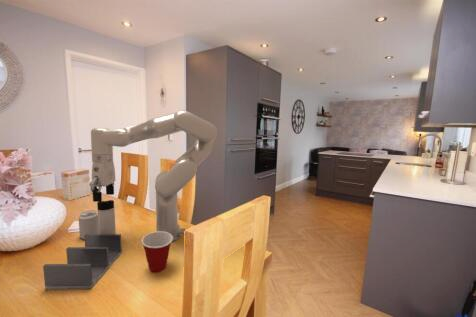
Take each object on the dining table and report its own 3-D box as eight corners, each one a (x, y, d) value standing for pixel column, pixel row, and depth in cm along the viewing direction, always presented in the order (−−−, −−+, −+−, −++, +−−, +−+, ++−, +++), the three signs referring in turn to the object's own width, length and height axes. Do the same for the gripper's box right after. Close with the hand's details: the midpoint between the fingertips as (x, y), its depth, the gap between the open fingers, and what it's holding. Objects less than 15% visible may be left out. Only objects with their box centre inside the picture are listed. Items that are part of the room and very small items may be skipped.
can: (89, 241, 100) (87, 216, 98) (75, 239, 101) (73, 214, 100) (102, 233, 107) (101, 210, 105) (89, 232, 108) (88, 208, 107)
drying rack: (121, 252, 92) (121, 234, 91) (90, 288, 71) (89, 265, 70) (87, 252, 91) (85, 234, 90) (45, 289, 70) (43, 266, 69)
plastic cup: (155, 282, 75) (154, 248, 73) (135, 270, 80) (134, 239, 79) (179, 265, 84) (179, 235, 82) (160, 256, 90) (159, 228, 88)
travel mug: (99, 249, 93) (96, 203, 91) (100, 242, 99) (97, 199, 96) (115, 246, 96) (113, 201, 94) (116, 239, 102) (114, 197, 99)
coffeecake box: (84, 193, 168) (83, 168, 165) (91, 195, 165) (89, 169, 162) (62, 199, 154) (60, 171, 151) (69, 200, 151) (67, 172, 149)
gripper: (100, 161, 84) (101, 204, 86) (121, 155, 101) (122, 192, 103) (79, 160, 84) (81, 204, 86) (104, 155, 101) (106, 191, 103)
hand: (104, 197), depth 95 cm, fingers open, 9 cm apart
